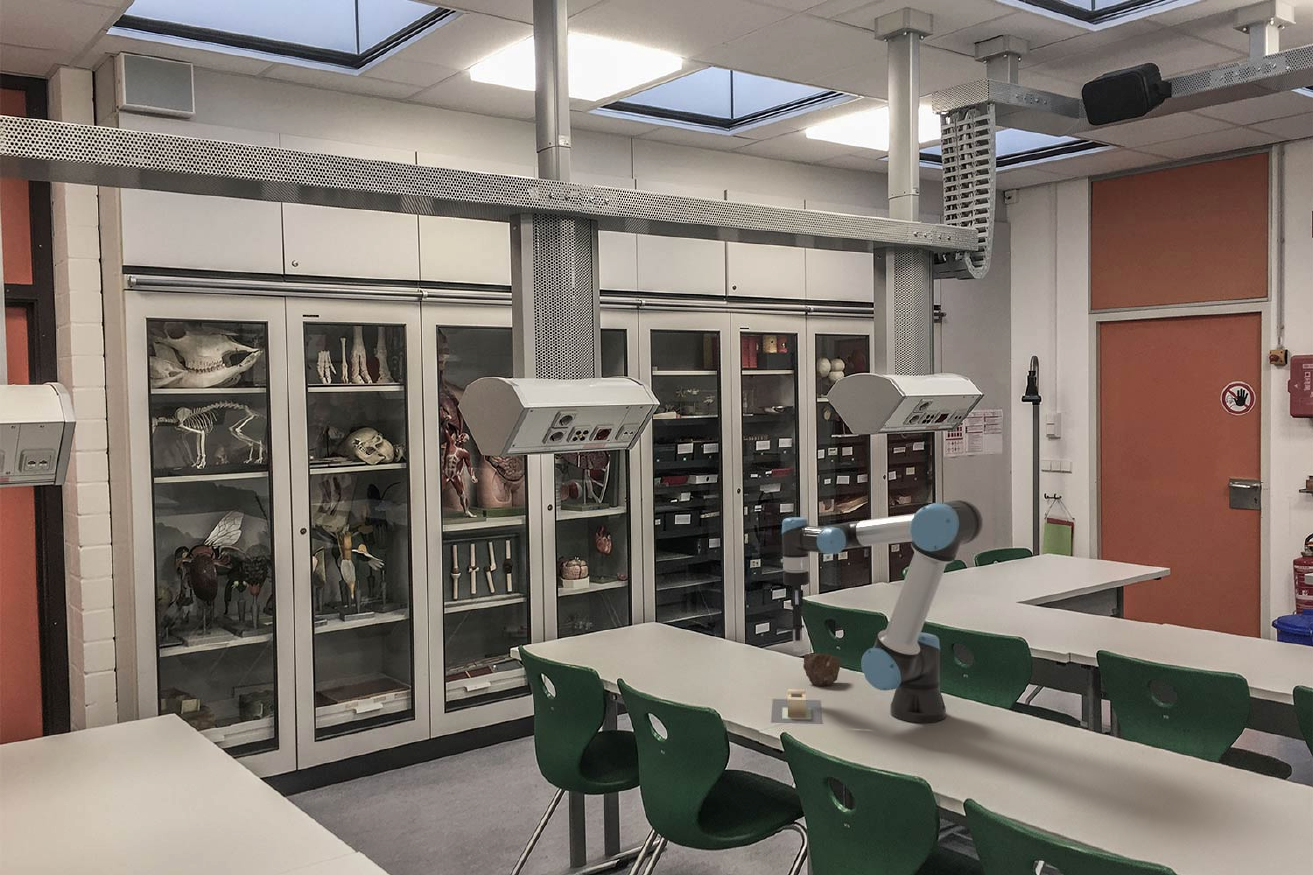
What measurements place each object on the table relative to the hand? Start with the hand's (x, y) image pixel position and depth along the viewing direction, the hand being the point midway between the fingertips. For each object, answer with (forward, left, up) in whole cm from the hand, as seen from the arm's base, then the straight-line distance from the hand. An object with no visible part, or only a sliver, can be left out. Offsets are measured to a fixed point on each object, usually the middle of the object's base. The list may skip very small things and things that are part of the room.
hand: (798, 650), depth 303 cm
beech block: (-6, +4, -12) cm, 14 cm away
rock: (+11, -16, -15) cm, 25 cm away
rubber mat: (-9, +6, -15) cm, 18 cm away
